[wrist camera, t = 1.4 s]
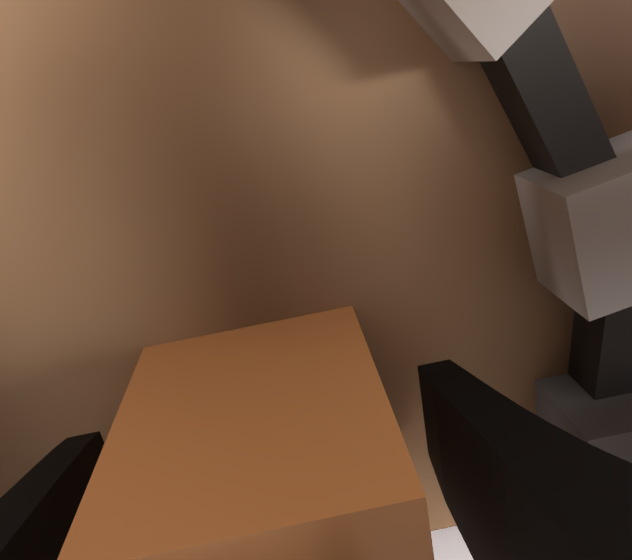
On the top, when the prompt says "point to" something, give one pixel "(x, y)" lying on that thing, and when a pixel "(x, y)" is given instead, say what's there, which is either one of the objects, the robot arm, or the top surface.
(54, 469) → the robot arm
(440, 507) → the board
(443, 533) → the top surface
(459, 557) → the top surface
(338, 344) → the plug
